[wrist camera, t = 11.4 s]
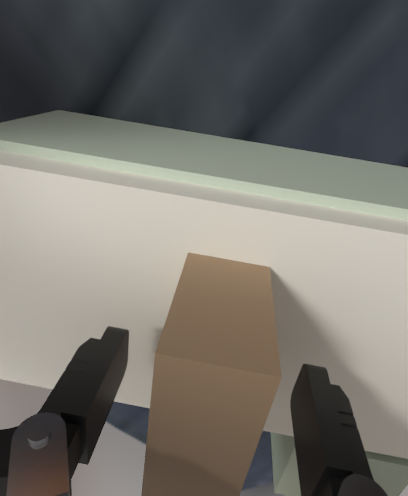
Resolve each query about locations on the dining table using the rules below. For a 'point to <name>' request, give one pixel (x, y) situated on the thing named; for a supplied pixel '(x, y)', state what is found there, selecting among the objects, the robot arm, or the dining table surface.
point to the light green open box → (232, 178)
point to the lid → (203, 308)
